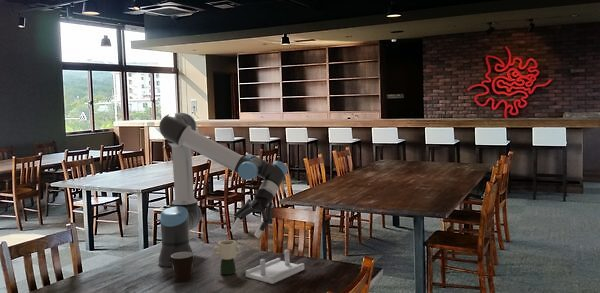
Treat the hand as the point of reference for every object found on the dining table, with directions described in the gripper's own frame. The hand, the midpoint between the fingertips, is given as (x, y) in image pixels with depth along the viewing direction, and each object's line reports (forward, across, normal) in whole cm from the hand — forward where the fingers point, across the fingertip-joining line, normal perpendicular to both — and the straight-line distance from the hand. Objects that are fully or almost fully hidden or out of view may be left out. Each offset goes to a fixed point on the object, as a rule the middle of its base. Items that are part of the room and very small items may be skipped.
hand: (244, 234), depth 221 cm
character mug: (+17, +1, -3) cm, 17 cm away
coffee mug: (+26, +11, +6) cm, 29 cm away
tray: (+9, -15, -11) cm, 21 cm away
